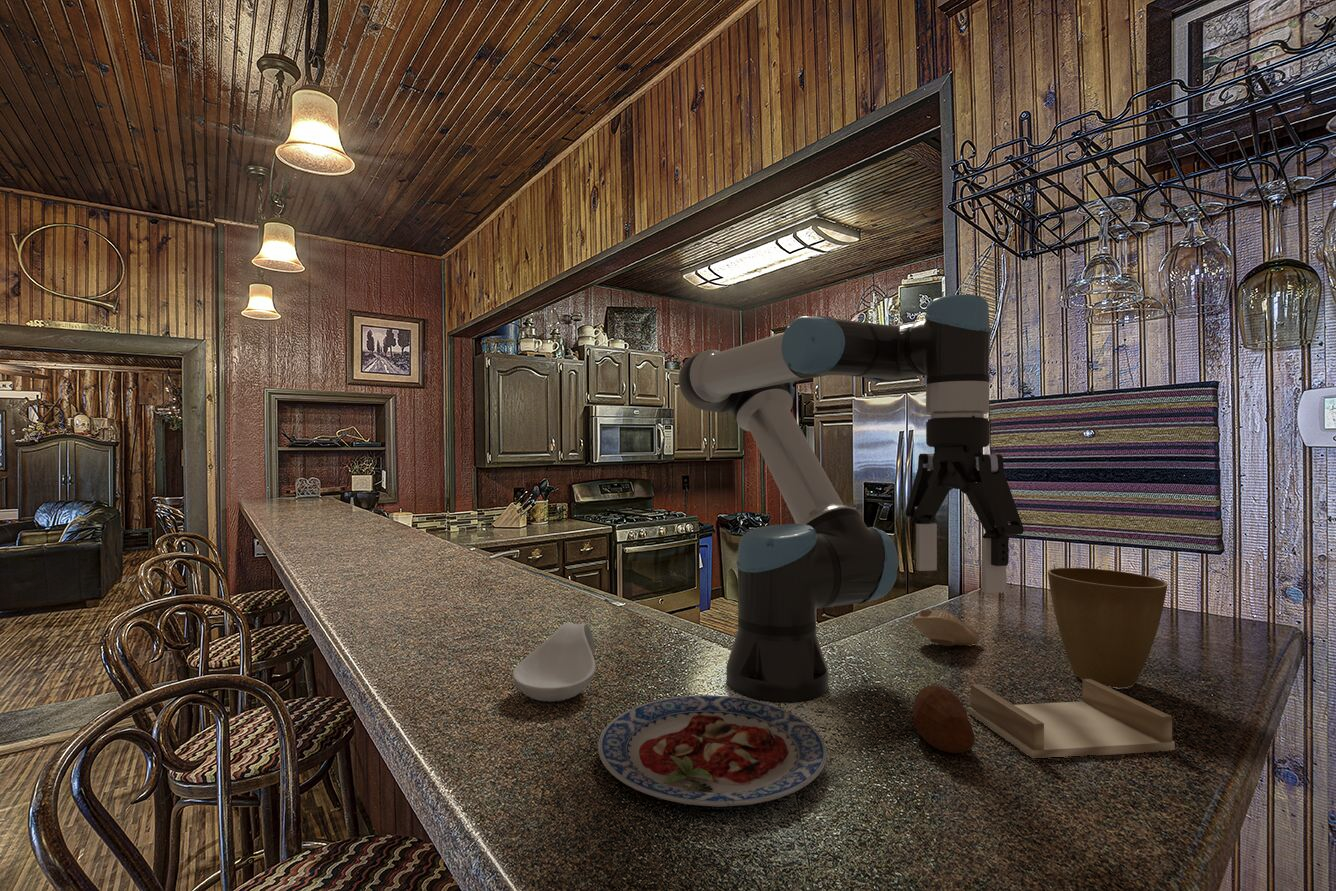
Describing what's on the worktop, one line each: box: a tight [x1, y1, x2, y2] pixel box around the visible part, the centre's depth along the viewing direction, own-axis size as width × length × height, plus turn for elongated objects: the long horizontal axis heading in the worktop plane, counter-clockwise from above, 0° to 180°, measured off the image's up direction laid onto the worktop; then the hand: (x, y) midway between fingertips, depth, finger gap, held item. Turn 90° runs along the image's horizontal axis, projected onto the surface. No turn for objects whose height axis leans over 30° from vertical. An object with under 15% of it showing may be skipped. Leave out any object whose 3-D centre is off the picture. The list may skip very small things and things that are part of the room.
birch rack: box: [968, 679, 1176, 758], centre depth 77 cm, size 18×12×4 cm, turn 97°
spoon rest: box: [511, 622, 596, 703], centre depth 95 cm, size 24×12×7 cm, turn 176°
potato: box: [912, 684, 976, 754], centre depth 74 cm, size 6×12×6 cm, turn 1°
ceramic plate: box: [597, 694, 828, 808], centre depth 71 cm, size 26×26×3 cm
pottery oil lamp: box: [912, 609, 981, 647], centre depth 110 cm, size 9×12×7 cm
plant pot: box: [1047, 567, 1168, 687], centre depth 94 cm, size 15×15×16 cm
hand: (957, 580), depth 80 cm, fingers open, 13 cm apart
